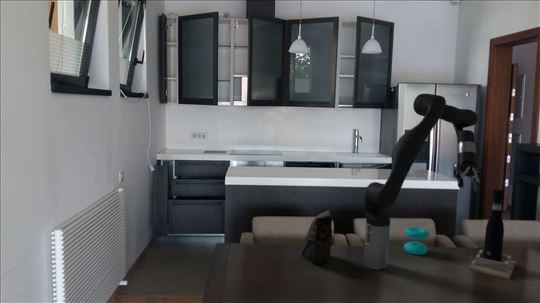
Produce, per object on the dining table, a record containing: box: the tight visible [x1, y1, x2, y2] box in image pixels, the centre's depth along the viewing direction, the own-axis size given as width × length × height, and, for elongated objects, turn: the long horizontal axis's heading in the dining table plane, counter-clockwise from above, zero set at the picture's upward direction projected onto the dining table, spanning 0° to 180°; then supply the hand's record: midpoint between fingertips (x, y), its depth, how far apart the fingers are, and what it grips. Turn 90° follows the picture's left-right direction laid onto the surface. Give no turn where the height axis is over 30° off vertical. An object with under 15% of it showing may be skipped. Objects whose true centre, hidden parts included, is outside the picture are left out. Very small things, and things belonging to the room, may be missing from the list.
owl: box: [300, 209, 334, 266], centre depth 173 cm, size 13×13×20 cm
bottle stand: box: [468, 249, 516, 280], centre depth 171 cm, size 18×14×4 cm
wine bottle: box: [483, 189, 505, 262], centre depth 169 cm, size 6×6×30 cm
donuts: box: [403, 226, 430, 256], centre depth 186 cm, size 10×10×10 cm
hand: (468, 189), depth 182 cm, fingers open, 8 cm apart
